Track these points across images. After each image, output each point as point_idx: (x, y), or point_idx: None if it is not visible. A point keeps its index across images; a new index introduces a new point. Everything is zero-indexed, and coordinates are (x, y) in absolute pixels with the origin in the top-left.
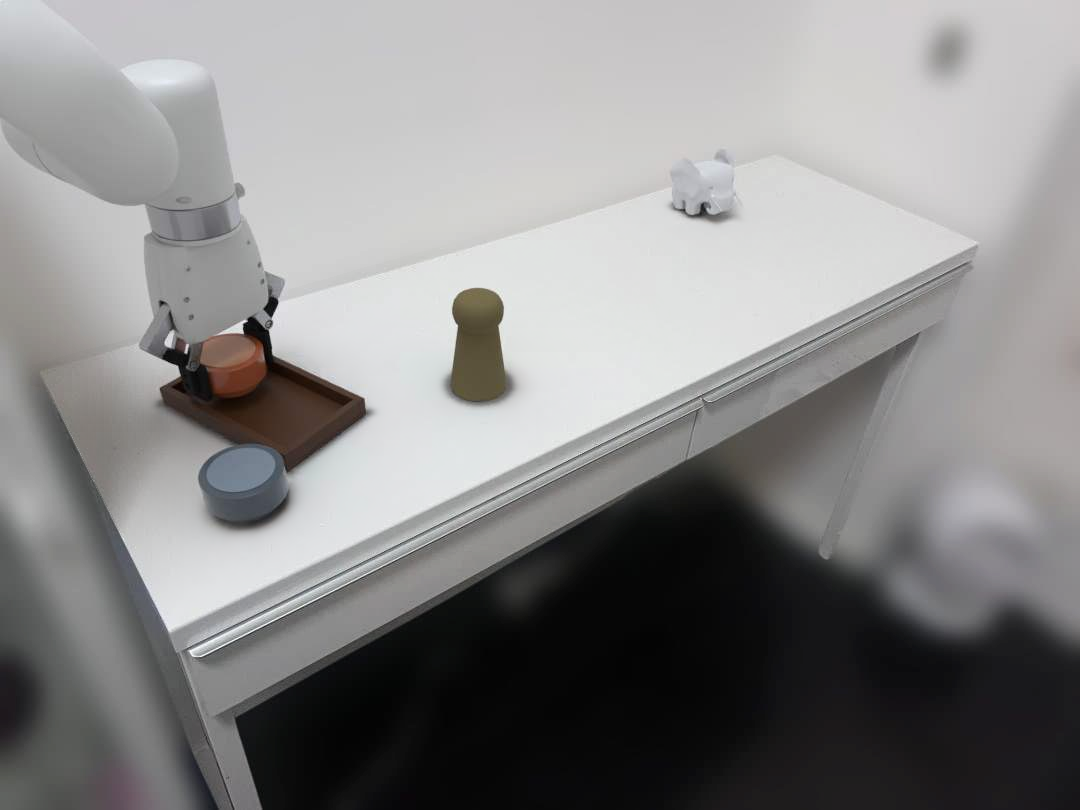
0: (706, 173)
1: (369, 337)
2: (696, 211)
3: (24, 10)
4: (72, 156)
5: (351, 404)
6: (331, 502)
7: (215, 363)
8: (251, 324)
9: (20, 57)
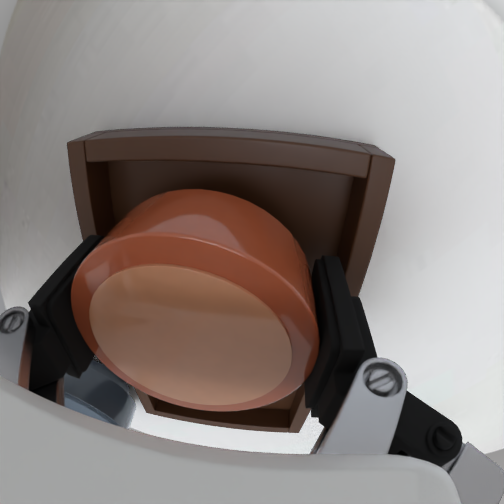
0: None
1: (488, 319)
2: None
3: None
4: None
5: (277, 430)
6: (160, 421)
7: (122, 361)
8: (329, 399)
9: None
